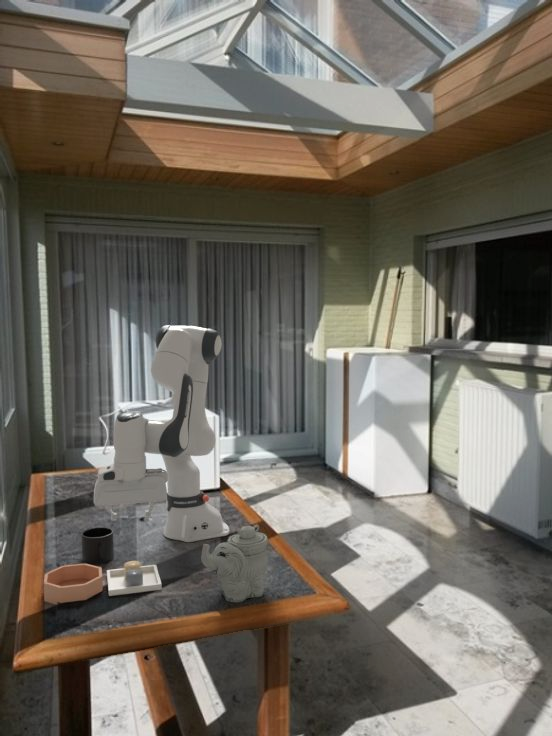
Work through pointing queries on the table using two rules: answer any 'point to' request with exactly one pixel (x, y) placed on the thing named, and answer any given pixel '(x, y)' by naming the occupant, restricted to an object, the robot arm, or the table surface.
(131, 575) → the slate pebble
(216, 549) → the teapot
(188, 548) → the table surface
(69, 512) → the table surface
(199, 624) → the table surface
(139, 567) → the sand pebble
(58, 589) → the bowl
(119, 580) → the tray
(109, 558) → the mug
